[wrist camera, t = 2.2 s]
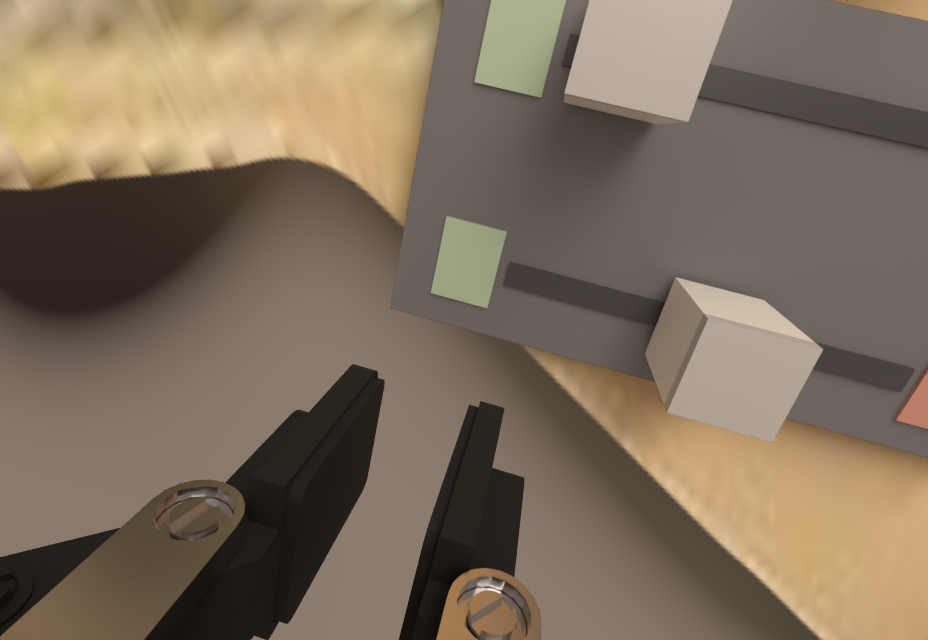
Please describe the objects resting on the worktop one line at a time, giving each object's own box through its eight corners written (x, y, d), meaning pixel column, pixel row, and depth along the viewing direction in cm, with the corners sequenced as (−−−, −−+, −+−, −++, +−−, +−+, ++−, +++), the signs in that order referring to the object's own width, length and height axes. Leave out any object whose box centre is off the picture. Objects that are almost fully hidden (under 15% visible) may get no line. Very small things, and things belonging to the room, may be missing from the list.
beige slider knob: (764, 300, 23) (823, 349, 18) (727, 376, 24) (772, 442, 19) (675, 277, 23) (708, 318, 18) (644, 353, 25) (666, 412, 19)
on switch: (694, 16, 20) (742, -25, 14) (657, 124, 21) (688, 122, 16) (593, -6, 20) (604, -54, 15) (563, 102, 21) (564, 93, 16)
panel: (1209, 96, 20) (1284, 92, 18) (955, 449, 26) (988, 476, 24) (466, -59, 22) (456, -78, 20) (401, 296, 29) (389, 309, 27)
